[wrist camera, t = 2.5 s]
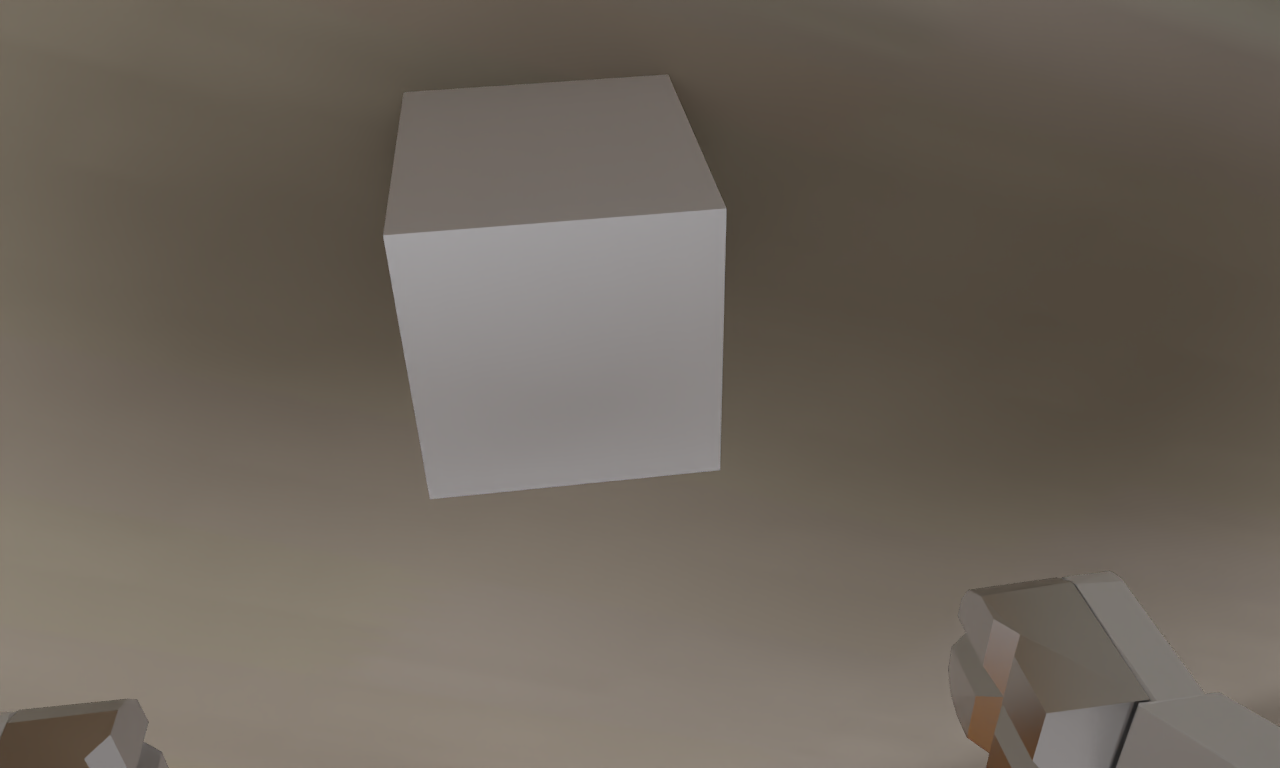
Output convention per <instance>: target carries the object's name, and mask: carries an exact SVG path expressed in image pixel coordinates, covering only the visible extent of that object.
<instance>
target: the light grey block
mask: <svg viewBox="0 0 1280 768" xmlns="http://www.w3.org/2000/svg"><path fill="white" fill-rule="evenodd" d="M726 209H727V208H726V206H725V204H724V202H723V199H722V197H721V195H720V192H719V190H718V188H717V185H716V183H715V181H714V179H713V176H712V174H711V172H710V169H709V167H708V165H707V163H706V160H705V158H704V156H703V153H702V151H701V149H700V146H699V144H698V142H697V140H696V137H695V135H694V133H693V130H692V128H691V126H690V124H689V121H688V119H687V117H686V114H685V112H684V110H683V107H682V105H681V103H680V101H679V98H678V96H677V94H676V91H675V89H674V87H673V85H672V82H671V80H670V78H669V75H668V74H667V75H652V76H637V77H622V78H607V79H592V80H577V81H562V82H547V83H532V84H517V85H503V86H488V87H473V88H458V89H443V90H428V91H413V92H404V93H403V100H402V107H401V114H400V120H399V127H398V134H397V141H396V148H395V155H394V162H393V169H392V176H391V183H390V190H389V197H388V204H387V211H386V218H385V225H384V232H383V238H384V244H385V249H386V255H387V261H388V266H389V272H390V278H391V283H392V289H393V294H394V300H395V306H396V311H397V317H398V323H399V328H400V334H401V339H402V345H403V351H404V356H405V362H406V368H407V373H408V379H409V384H410V390H411V396H412V401H413V407H414V412H415V418H416V424H417V429H418V435H419V441H420V446H421V452H422V457H423V463H424V469H425V474H426V480H427V486H428V491H429V497H430V499H438V498H448V497H458V496H468V495H478V494H488V493H498V492H508V491H518V490H528V489H538V488H548V487H558V486H568V485H578V484H588V483H598V482H608V481H618V480H628V479H638V478H648V477H658V476H668V475H678V474H687V473H697V472H707V471H717V470H720V455H721V414H722V373H723V332H724V291H725V250H726Z"/></svg>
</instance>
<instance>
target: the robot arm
mask: <svg viewBox="0 0 1280 768" xmlns="http://www.w3.org/2000/svg"><path fill="white" fill-rule="evenodd" d="M958 618H959V620H960V622H961V624H962V626H963V628H964V630H965V632H966V633H965V634H964V635H963V636H962V637H961V638H960V639H959V640H958V641H957V642H956V643H955V644H954V645H953V646H952V648H951V655H950V662H949V668H948V672H949V681H950V690H951V697H952V700H953V704H954V707H955V710H956V714H957V717H958V719H959V721H960V723H961V726H962V728H963V730H964V732H965V734H966V737H967V738H969V739H970V740H971V741H973V742H974V743H976V744H977V745H978V746H980V747H981V748H983V749H984V750H986V751H987V752H988V753H989V758H988V762H987V766H986V768H1280V727H1279V726H1277V725H1275V724H1274V723H1272V722H1270V721H1268V720H1267V719H1265V718H1263V717H1261V716H1260V715H1258V714H1256V713H1255V712H1253V711H1251V710H1249V709H1248V708H1246V707H1244V706H1242V705H1241V704H1239V703H1237V702H1235V701H1234V700H1232V699H1230V698H1229V697H1227V696H1225V695H1223V694H1222V693H1220V692H1218V693H1208V694H1205V693H1204V691H1203V690H1202V689H1201V687H1200V686H1199V684H1198V683H1197V682H1196V680H1195V679H1194V678H1193V676H1192V675H1191V673H1190V672H1189V671H1188V669H1187V668H1186V667H1185V665H1184V664H1183V662H1182V661H1181V660H1180V658H1179V657H1178V656H1177V654H1176V653H1175V651H1174V650H1173V649H1172V647H1171V646H1170V644H1169V643H1168V642H1167V640H1166V639H1165V638H1164V636H1163V635H1162V633H1161V632H1160V631H1159V629H1158V628H1157V627H1156V625H1155V624H1154V622H1153V621H1152V620H1151V618H1150V617H1149V616H1148V614H1147V613H1146V611H1145V610H1144V609H1143V607H1142V606H1141V605H1140V603H1139V602H1138V600H1137V599H1136V598H1135V596H1134V595H1133V593H1132V592H1131V591H1130V589H1129V588H1128V587H1127V585H1126V584H1125V582H1124V581H1123V580H1122V578H1121V577H1119V576H1118V575H1116V574H1115V573H1113V572H1111V571H1106V572H1098V573H1091V574H1083V575H1076V576H1068V577H1063V578H1057V577H1056V578H1049V579H1042V580H1035V581H1028V582H1021V583H1013V584H1006V585H999V586H992V587H985V588H978V589H971V590H968V591H967V592H966V594H965V595H964V596H963V598H962V600H961V604H960V609H959V613H958ZM148 723H149V721H148V719H147V717H146V715H145V713H144V712H143V710H142V708H141V706H140V704H139V702H138V700H137V699H120V700H111V701H101V702H91V703H81V704H72V705H62V706H52V707H43V708H33V709H23V710H18V711H10V712H1V713H0V768H169V767H168V765H167V763H166V760H165V758H164V755H163V753H162V752H161V751H159V750H158V749H156V748H154V747H152V746H150V745H149V744H147V743H145V742H143V741H144V738H145V734H146V730H147V726H148Z"/></svg>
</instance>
